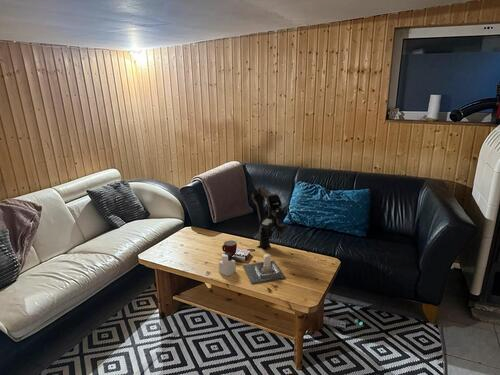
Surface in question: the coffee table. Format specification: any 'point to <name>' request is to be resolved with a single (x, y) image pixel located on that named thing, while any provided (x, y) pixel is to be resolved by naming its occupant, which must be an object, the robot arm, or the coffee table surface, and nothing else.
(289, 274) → the coffee table surface
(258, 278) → the keeper board
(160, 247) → the coffee table surface
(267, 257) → the beige flared base peg
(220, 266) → the medicine bottle
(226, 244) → the mug
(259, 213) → the robot arm
